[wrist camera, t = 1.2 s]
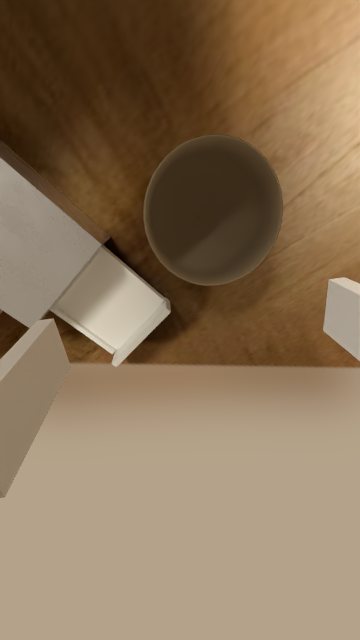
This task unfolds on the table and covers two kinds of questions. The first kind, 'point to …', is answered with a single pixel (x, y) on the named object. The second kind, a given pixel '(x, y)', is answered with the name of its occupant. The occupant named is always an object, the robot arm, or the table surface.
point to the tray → (111, 305)
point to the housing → (38, 240)
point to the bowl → (213, 210)
